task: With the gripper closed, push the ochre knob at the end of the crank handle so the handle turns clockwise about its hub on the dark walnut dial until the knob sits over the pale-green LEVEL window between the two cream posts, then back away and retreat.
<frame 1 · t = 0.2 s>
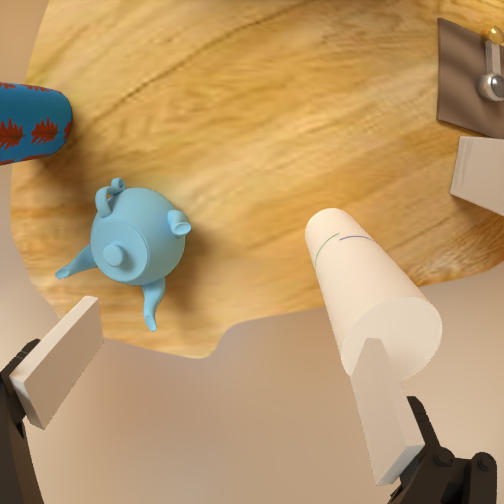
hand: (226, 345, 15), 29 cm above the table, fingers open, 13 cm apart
dial board: (481, 82, 33), on the table
crank handle: (492, 63, 29), point 3 cm above the table, hinge at 0.0°
teapot: (147, 237, 44), on the table
cylindrical container: (331, 234, 42), on the table
thermos: (47, 122, 39), on the table
supplement box: (475, 172, 38), on the table
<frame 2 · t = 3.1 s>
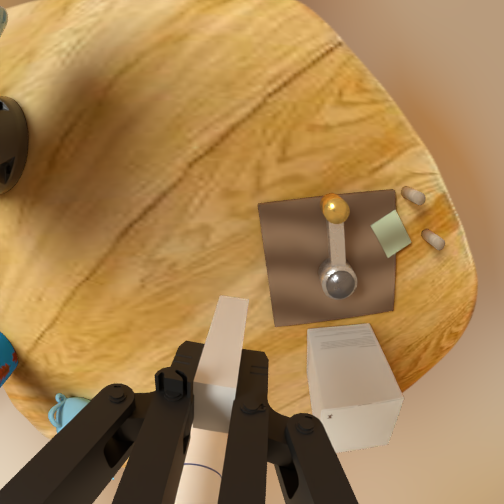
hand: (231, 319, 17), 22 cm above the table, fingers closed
dial board: (332, 260, 39), on the table
crank handle: (336, 247, 35), point 3 cm above the table, hinge at 0.0°
teapot: (95, 417, 53), on the table
cylindrical container: (209, 415, 50), on the table
thermos: (0, 347, 49), on the table
supplement box: (337, 349, 44), on the table
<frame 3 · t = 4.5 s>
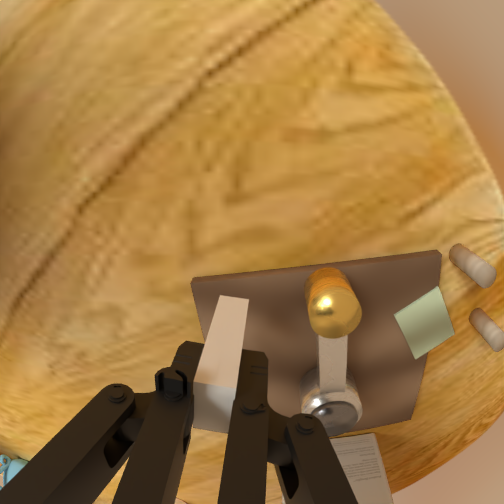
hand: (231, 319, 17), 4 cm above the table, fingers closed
dial board: (324, 364, 22), on the table
crank handle: (330, 362, 18), point 3 cm above the table, hinge at 0.0°
teapot: (46, 479, 37), on the table
cylindrical container: (165, 502, 33), on the table
supplement box: (326, 459, 27), on the table
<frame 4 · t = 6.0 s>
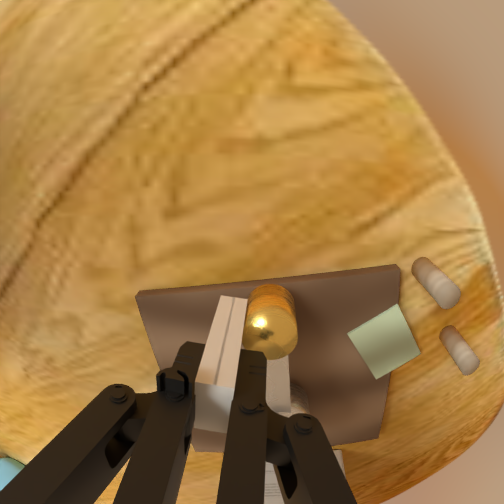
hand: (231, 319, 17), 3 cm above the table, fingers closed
dial board: (277, 380, 22), on the table
crank handle: (275, 381, 18), point 3 cm above the table, hinge at -2.0°, touching gripper
teapot: (33, 478, 36), on the table
supplement box: (293, 472, 27), on the table
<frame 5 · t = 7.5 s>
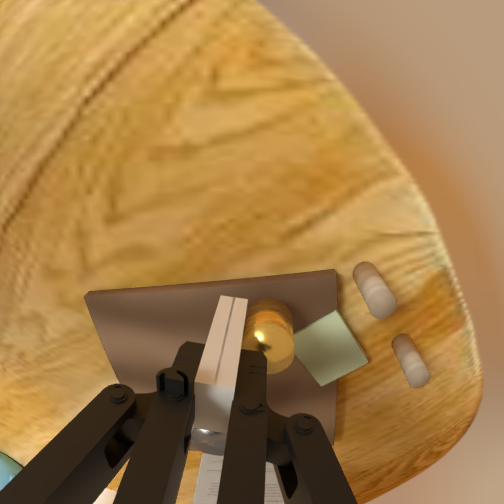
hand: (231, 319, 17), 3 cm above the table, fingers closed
dial board: (222, 381, 22), on the table
crank handle: (238, 387, 18), point 3 cm above the table, hinge at -29.0°, touching gripper
teapot: (19, 470, 37), on the table
cylindrical container: (118, 498, 33), on the table
supplement box: (253, 473, 27), on the table
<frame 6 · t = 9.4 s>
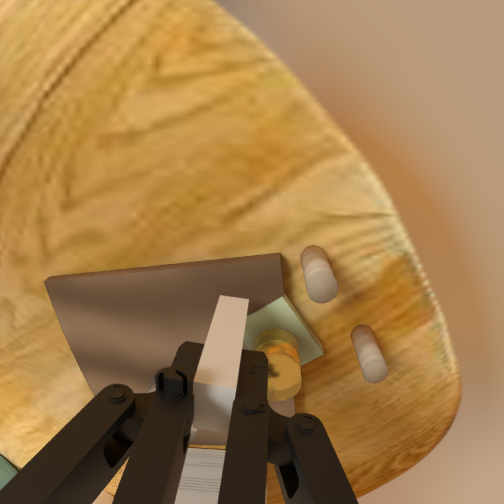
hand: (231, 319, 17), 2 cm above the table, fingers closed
dial board: (176, 370, 21), on the table
crank handle: (212, 391, 18), point 3 cm above the table, hinge at -60.8°
teapot: (4, 464, 36), on the table
cylindrical container: (96, 492, 32), on the table
supplement box: (220, 469, 26), on the table
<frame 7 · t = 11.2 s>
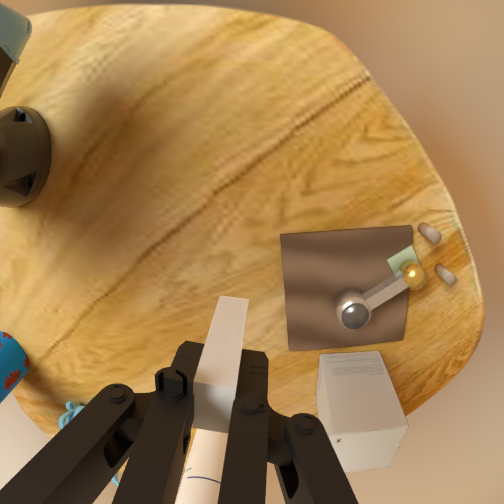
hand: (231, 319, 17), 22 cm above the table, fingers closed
dial board: (348, 291, 39), on the table
crank handle: (380, 293, 36), point 3 cm above the table, hinge at -60.8°
teapot: (103, 425, 54), on the table
cylindrical container: (218, 429, 50), on the table
thermos: (12, 352, 51), on the table
supplement box: (346, 374, 44), on the table
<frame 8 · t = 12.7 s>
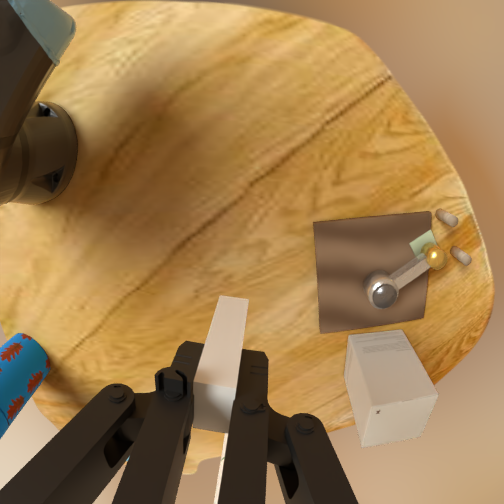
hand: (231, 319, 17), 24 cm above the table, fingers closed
dial board: (374, 273, 42), on the table
crank handle: (405, 274, 38), point 3 cm above the table, hinge at -60.8°
thermos: (31, 354, 52), on the table
supplement box: (372, 353, 46), on the table
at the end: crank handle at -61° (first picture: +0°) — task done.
